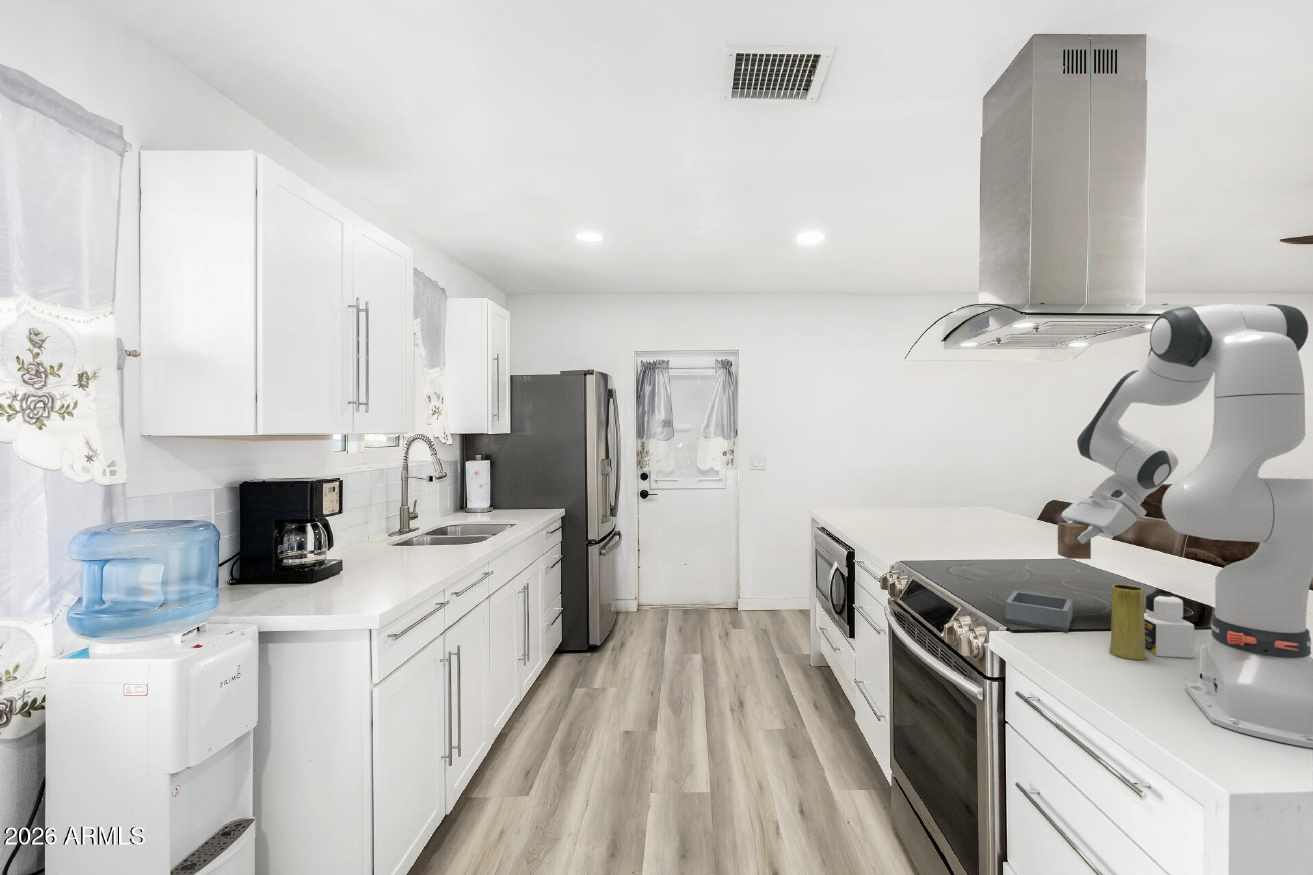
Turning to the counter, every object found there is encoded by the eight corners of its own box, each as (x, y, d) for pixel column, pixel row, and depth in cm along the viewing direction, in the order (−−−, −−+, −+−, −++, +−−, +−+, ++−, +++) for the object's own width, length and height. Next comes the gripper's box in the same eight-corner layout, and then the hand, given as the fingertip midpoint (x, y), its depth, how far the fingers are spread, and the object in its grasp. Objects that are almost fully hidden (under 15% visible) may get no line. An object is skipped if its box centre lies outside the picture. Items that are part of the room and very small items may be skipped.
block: (1090, 558, 147) (1090, 526, 147) (1068, 558, 147) (1068, 525, 147) (1079, 554, 152) (1079, 523, 152) (1057, 554, 152) (1057, 522, 152)
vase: (1110, 656, 126) (1110, 588, 126) (1108, 647, 131) (1108, 581, 131) (1147, 662, 122) (1147, 592, 122) (1144, 653, 127) (1144, 585, 127)
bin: (1067, 632, 140) (1067, 611, 140) (1005, 622, 148) (1005, 601, 148) (1072, 618, 150) (1072, 598, 150) (1014, 609, 158) (1014, 590, 158)
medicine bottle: (1135, 644, 132) (1135, 590, 132) (1172, 646, 131) (1173, 591, 131) (1155, 656, 125) (1155, 599, 125) (1194, 658, 124) (1195, 600, 124)
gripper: (1080, 486, 159) (1040, 523, 160) (1130, 494, 138) (1084, 536, 140) (1098, 503, 158) (1058, 540, 160) (1151, 514, 138) (1105, 556, 139)
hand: (1071, 538), depth 150 cm, fingers closed on block, 5 cm apart
